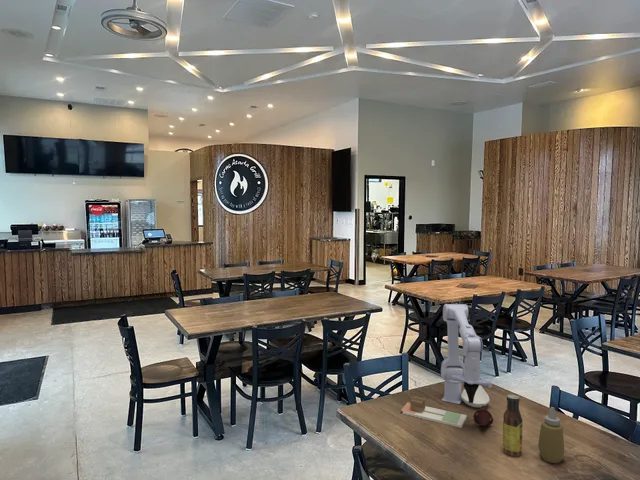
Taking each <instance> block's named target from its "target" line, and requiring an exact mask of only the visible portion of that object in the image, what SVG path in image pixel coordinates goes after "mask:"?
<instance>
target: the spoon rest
mask: <svg viewBox="0 0 640 480" xmlns="http://www.w3.org/2000/svg"><path fill="white" fill-rule="evenodd" d="M461 397H462V401H463V402H464V404H465V405H468V406H469V407H473V408H481V406H483V405H484V406H486V407H487V405H488V403H490V397H489V394H488V393H487V391H485V389H484V387H483V386H480V385H479V387H478V389H477V391H476V393H475V396H474V401H473V403H469V399H468V395H467V393H466V390H465V388H463V389H462V394H461Z"/></svg>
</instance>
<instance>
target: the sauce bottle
mask: <svg viewBox="0 0 640 480" xmlns="http://www.w3.org/2000/svg"><path fill="white" fill-rule="evenodd" d="M519 405H520V396H518V395H515V394H507V395H506V410H505V411H504V412H503V421H502V447H503V448H502V450H503V452H504V453H505V455H509V456H513V457H519V456H521V455H522V453H523V452H522V451H523V424H524V423H523V418H522V415H521V412H520V406H519Z"/></svg>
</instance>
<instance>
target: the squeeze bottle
mask: <svg viewBox="0 0 640 480" xmlns="http://www.w3.org/2000/svg"><path fill="white" fill-rule="evenodd" d="M564 439H565V438H564V429H563V426H562V425H561V419H560V418H559V417H558V416H557V413H556V408H555V407H553V406H550V408H549V411H548V414H547V415H545V416H544V421H542V422H541V424H540V431H539V439H538V442H537V443H538V444H537V445H538V446H537V448H538V451H539V453H540V456H541V458H542V459H543V460H544V461H545V462H548V463H552V464H559V463H560V462H561V461H562V459H563V457H564V455H565V451H566V450H565V441H564Z"/></svg>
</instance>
